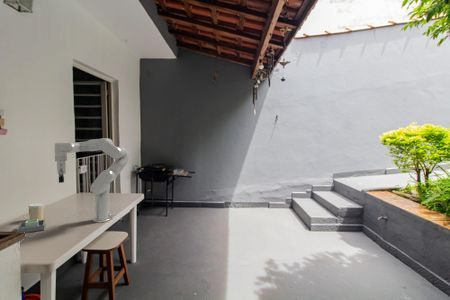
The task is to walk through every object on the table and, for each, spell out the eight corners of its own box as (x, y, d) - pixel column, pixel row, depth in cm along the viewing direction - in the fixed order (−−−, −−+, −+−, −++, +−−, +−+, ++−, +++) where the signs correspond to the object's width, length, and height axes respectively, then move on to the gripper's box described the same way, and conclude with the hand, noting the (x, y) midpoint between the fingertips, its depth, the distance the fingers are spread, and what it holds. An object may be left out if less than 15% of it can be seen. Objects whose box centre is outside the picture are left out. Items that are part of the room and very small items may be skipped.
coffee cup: (31, 218, 183) (31, 203, 183) (46, 217, 187) (45, 202, 186) (26, 222, 174) (26, 206, 174) (41, 221, 178) (41, 205, 177)
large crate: (45, 224, 172) (45, 219, 172) (44, 230, 161) (44, 225, 161) (20, 227, 164) (20, 223, 164) (16, 234, 153) (16, 229, 153)
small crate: (38, 225, 167) (38, 218, 167) (37, 228, 162) (37, 221, 162) (26, 227, 164) (26, 220, 163) (25, 230, 158) (25, 223, 158)
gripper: (67, 159, 173) (67, 182, 174) (66, 158, 187) (67, 179, 188) (54, 160, 169) (55, 183, 170) (55, 158, 183) (55, 180, 184)
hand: (61, 181), depth 179 cm, fingers open, 9 cm apart
